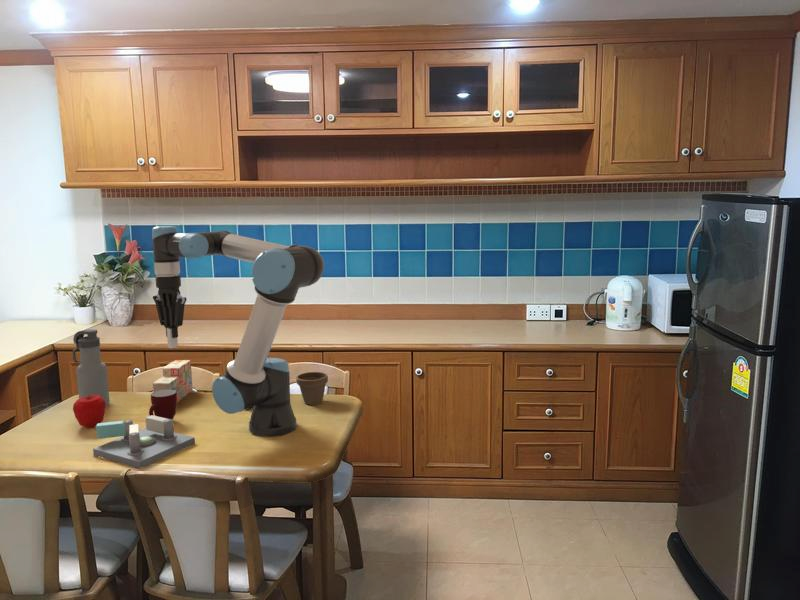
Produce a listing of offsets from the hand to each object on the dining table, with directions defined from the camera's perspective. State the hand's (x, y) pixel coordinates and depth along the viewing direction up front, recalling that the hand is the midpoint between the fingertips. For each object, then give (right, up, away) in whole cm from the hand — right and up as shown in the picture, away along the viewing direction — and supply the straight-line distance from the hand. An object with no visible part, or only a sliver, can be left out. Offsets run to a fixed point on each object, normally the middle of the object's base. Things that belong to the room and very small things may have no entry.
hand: (173, 347), depth 201 cm
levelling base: (-3, -29, -16) cm, 33 cm away
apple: (-28, -27, +4) cm, 39 cm away
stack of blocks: (-11, -22, +32) cm, 40 cm away
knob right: (0, -26, -11) cm, 28 cm away
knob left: (-4, -28, -20) cm, 34 cm away
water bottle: (-38, -23, +25) cm, 51 cm away
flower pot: (+42, -22, +26) cm, 54 cm away
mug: (-5, -26, +6) cm, 27 cm away
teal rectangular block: (-12, -27, -14) cm, 32 cm away
